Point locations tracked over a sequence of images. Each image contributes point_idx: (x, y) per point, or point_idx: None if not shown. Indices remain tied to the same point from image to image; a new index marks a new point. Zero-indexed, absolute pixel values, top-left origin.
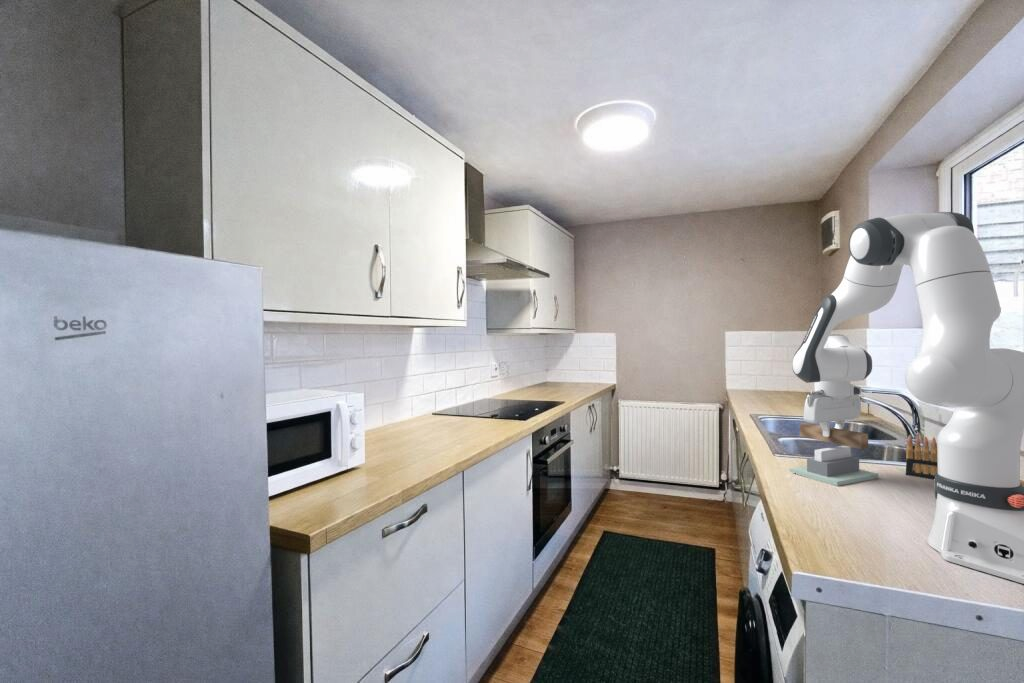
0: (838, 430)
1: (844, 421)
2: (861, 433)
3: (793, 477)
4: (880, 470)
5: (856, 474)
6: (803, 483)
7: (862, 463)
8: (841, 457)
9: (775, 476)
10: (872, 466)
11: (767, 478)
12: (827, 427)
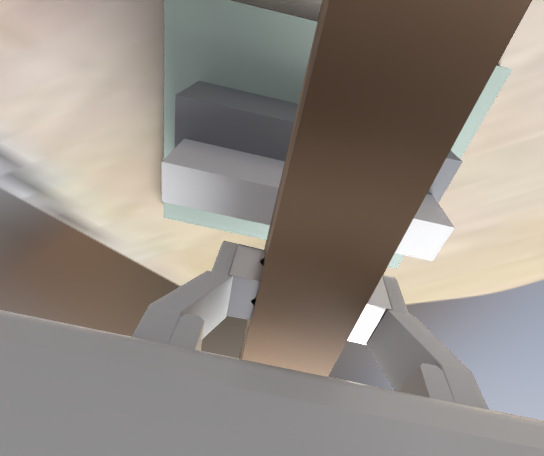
0: (371, 267)
1: (144, 327)
2: (388, 3)
3: (458, 230)
4: (28, 42)
5: (279, 62)
6: (536, 177)
7: (7, 143)
8: (265, 159)
9: (486, 269)
10: (5, 96)
11: (535, 275)
12: (446, 350)
